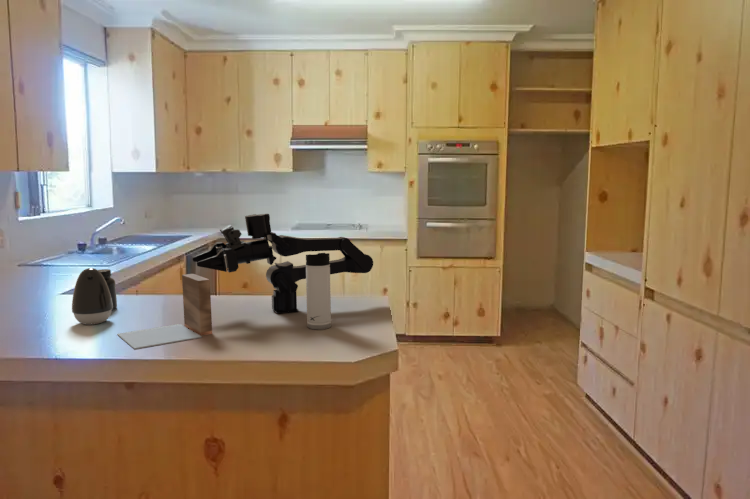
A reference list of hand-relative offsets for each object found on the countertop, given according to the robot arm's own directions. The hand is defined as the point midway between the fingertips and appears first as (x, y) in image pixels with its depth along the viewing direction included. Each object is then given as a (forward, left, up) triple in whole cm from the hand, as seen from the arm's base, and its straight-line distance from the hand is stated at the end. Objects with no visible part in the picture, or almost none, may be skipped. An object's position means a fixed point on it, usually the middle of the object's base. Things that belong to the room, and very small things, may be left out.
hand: (194, 261), depth 162 cm
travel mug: (-29, +21, -17) cm, 40 cm away
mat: (+11, +14, -16) cm, 24 cm away
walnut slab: (+1, +11, -16) cm, 20 cm away
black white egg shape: (+27, -9, -17) cm, 33 cm away
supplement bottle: (+25, -26, -17) cm, 39 cm away
